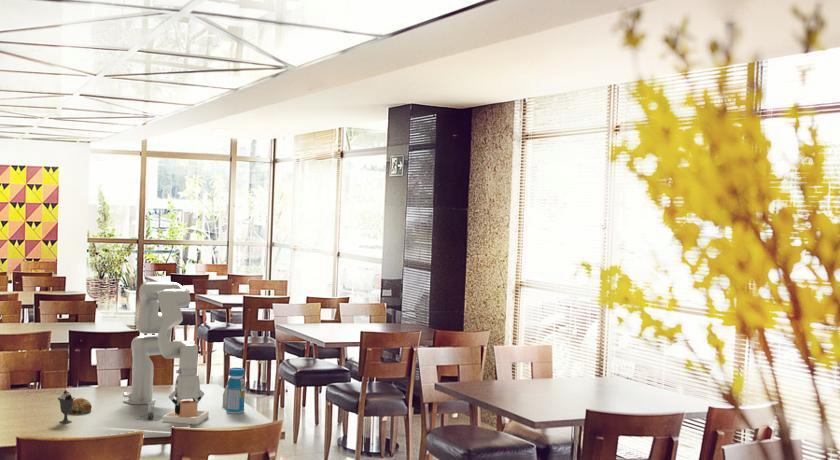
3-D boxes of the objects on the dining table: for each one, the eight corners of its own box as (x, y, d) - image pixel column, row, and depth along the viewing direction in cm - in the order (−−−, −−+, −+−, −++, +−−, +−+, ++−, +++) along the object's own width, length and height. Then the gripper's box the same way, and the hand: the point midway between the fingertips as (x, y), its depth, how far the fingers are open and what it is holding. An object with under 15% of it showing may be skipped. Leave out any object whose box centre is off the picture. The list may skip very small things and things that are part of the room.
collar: (181, 418, 350) (182, 404, 350) (174, 414, 356) (175, 401, 356) (196, 416, 355) (197, 402, 355) (190, 413, 360) (190, 399, 360)
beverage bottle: (228, 414, 370) (230, 370, 370) (223, 410, 378) (225, 367, 378) (246, 413, 374) (248, 369, 374) (241, 409, 381) (243, 366, 382)
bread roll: (93, 420, 364) (99, 402, 367) (78, 414, 355) (84, 396, 359) (75, 417, 367) (81, 400, 371) (60, 411, 359) (66, 394, 362)
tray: (162, 423, 348) (162, 416, 348) (175, 415, 363) (175, 409, 363) (196, 425, 347) (196, 418, 347) (208, 417, 362) (208, 411, 362)
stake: (134, 421, 350) (135, 404, 350) (144, 416, 360) (144, 399, 360) (156, 422, 349) (157, 405, 349) (166, 417, 359) (166, 401, 359)
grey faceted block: (233, 409, 382) (234, 387, 382) (222, 407, 385) (223, 385, 385) (238, 407, 385) (239, 386, 385) (227, 405, 388) (228, 384, 388)
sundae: (59, 420, 346) (61, 384, 346) (76, 420, 347) (77, 385, 347) (54, 424, 339) (55, 387, 340) (70, 424, 340) (72, 388, 340)
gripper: (172, 375, 347) (170, 416, 347) (210, 371, 358) (208, 412, 358) (165, 372, 353) (163, 413, 352) (202, 369, 364) (200, 409, 364)
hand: (186, 412), depth 355 cm, fingers closed on collar, 6 cm apart
